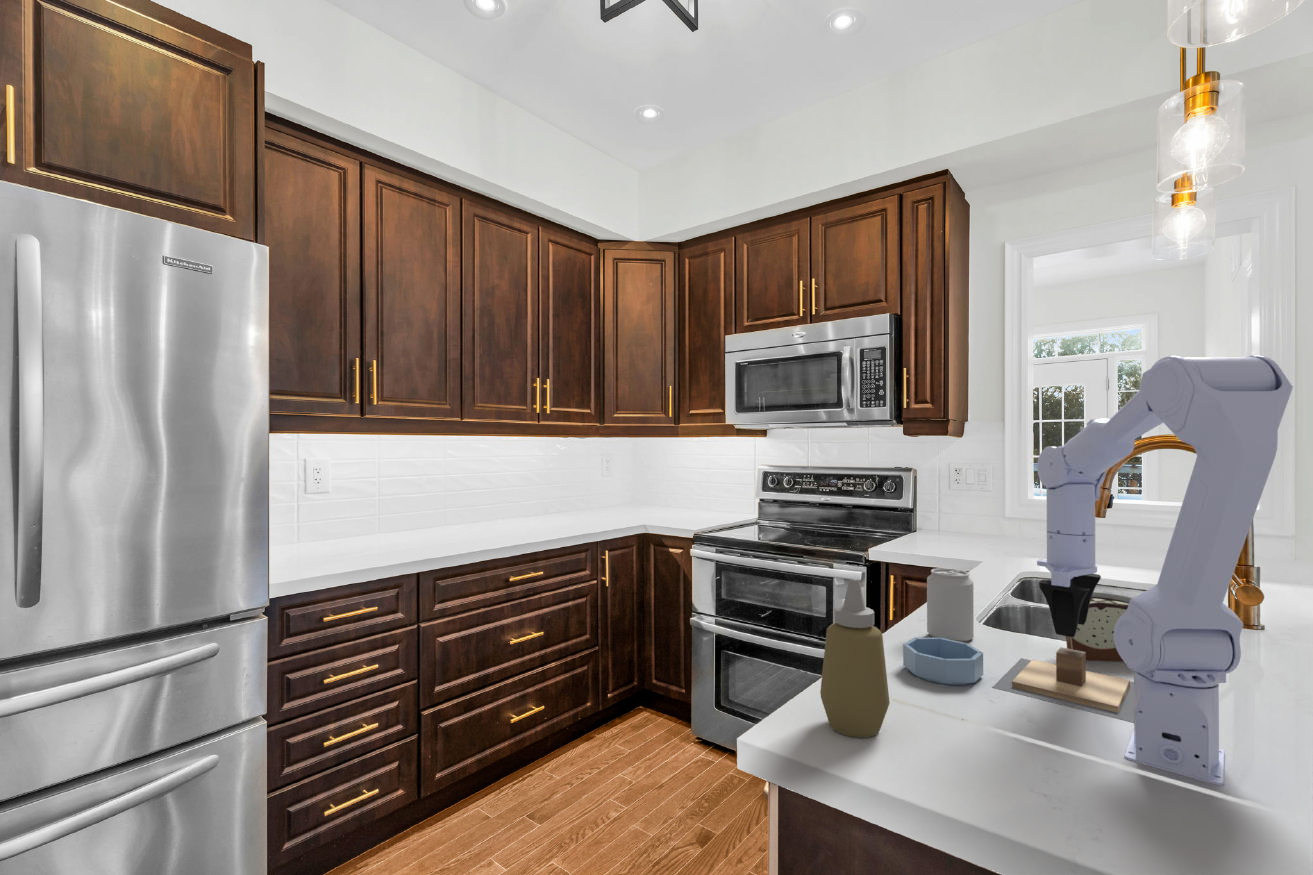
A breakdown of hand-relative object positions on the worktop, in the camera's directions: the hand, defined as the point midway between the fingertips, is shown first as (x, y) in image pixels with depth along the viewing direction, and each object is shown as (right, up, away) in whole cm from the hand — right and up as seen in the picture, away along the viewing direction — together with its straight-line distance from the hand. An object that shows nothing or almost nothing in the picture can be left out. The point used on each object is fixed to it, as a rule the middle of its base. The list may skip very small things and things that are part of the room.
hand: (1070, 629), depth 87 cm
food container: (+12, -9, +13) cm, 20 cm away
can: (-6, -9, +22) cm, 25 cm away
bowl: (-16, -9, +5) cm, 19 cm away
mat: (0, -8, 0) cm, 8 cm away
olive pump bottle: (-34, -9, -12) cm, 37 cm away
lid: (0, -8, 0) cm, 8 cm away
